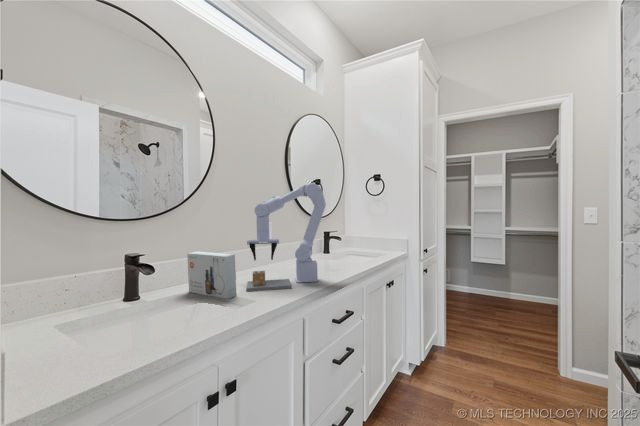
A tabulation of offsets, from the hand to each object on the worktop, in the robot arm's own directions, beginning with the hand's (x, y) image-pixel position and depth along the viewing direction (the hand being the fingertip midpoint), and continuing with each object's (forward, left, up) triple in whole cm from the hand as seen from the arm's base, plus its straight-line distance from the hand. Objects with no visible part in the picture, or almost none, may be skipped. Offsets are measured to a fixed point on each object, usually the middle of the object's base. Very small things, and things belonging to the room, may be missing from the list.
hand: (263, 259), depth 134 cm
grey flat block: (-2, +12, -9) cm, 15 cm away
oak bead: (+2, +12, -8) cm, 15 cm away
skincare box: (+20, +18, -10) cm, 29 cm away
